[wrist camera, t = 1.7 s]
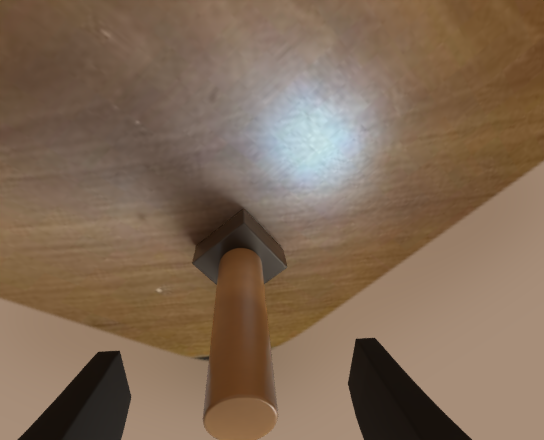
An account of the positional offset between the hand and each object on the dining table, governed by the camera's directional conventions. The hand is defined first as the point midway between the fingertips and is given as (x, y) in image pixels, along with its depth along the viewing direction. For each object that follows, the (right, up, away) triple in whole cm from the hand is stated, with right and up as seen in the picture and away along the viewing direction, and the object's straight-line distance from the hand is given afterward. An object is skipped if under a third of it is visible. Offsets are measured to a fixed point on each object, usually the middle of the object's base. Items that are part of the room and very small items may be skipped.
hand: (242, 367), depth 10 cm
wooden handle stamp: (-1, +3, +7) cm, 7 cm away
